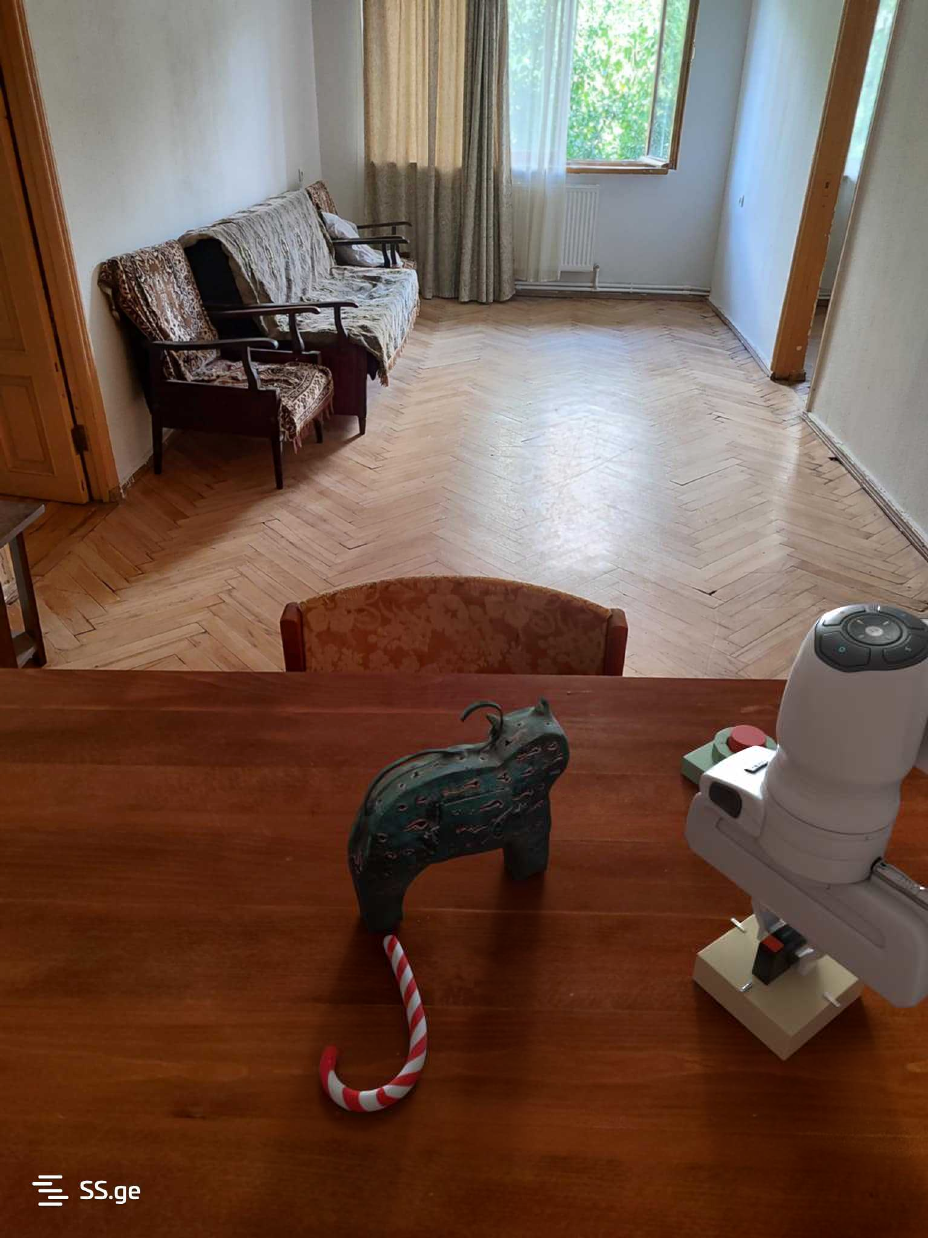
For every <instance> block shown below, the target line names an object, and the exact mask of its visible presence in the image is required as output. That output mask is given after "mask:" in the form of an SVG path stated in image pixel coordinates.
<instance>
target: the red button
mask: <svg viewBox="0 0 928 1238" xmlns="http://www.w3.org/2000/svg"><path fill="white" fill-rule="evenodd" d="M733 727H734V728H733ZM733 727H732V728H733V729H732V730H731V734H730V739H729V744H728V747H729V749H730V751H731V752H733V753H735V754H736V753H738V752H740V751H742V750H745V749H747V748H750V747H753V746H759V747H763V748H765V744H766V735H767V734H765V732H764V731H763V730H761V729H759V728H758V727H756V726H752V725H748V724H741V725H736V726H733Z"/></svg>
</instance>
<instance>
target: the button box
mask: <svg viewBox="0 0 928 1238" xmlns="http://www.w3.org/2000/svg"><path fill="white" fill-rule="evenodd" d="M734 727H735V726H733V727H726V728H725V729H722V730H720V731H719V732H717V733H716V734H715V737H714V740H712V741H710V742H708V743H706V744H705V745H703V746H701V747H698V748H697V749H695V750H694V751H692V752H689V753H688V754H686V755H684V756H683V757H682V761H681V767H680V774H681V775H683V776H685V777H686V778H687V779H688V780H690V781H692V782H693V783H694V784H696V785H697V786H699V784H700V778H701V776H702V774H703V773H705V772H706V771H707V770H709V769H710V768H711V767H713V766H714V765H716V764H717V763H719V762H721V761H722V760H724V759H726V758H728V757H730V756H732V755H734V754H735V753H733V752H731V751H730V749H729V747H728V744H729V739H730V734H731V730H732V729H733V728H734ZM765 735H766V744H765V748H767V749H770V750H774V751H776V750H777V743H776V742H775V740H774V739H773V738H772V737H770V736H769V735H767V734H765Z"/></svg>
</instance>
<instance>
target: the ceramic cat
mask: <svg viewBox="0 0 928 1238" xmlns="http://www.w3.org/2000/svg"><path fill="white" fill-rule="evenodd" d="M488 707H489V708H494V709H495V710H497V711H498V714H499V716H498V715H495V714H491V713H485V715H486V719H487V721H488V722H489V723H490V725H491V726H490V728H489V729H488V730H487V733H486V736H485V737H486V739H485V740H486V741H484V742H479V743H473V744H458V745H452V746H449V747H446V748H433V749H432V748H431V749H423V750H420V751H418V752H415V753H412V754H409V755H406V756H404V757H402V758H400V759H397V760H396V761H394V762H391V763H390V764H389V765H387V766H385V767H384V768H382V769H380V771H379V772H378V773H377V774H376V775H375V776H374V777H373V779H372V780H371V782H370V784H369V786H368V788H367V789H366V792H365V795H364V798H363V801H362V803H361V805H360V806H359V808H358V811H357V814H356V816H355V817H354V818H355V819H354V820H353V822H352V824H351V826H350V831H349V835H348V839H347V858H348V868H349V873H350V876H351V879H352V885H353V888H354V892H355V895H356V900H357V903H358V908H359V913H360V915H361V917H362V919H363V921H364V923H365V925H366V928H367V930H368V933H369V934H372V933H377V932H381V931H385V930H388V929H390V928H393V927H396V926H397V925H398V924H400V923H402V922H403V921H404V912H403V904H404V901H405V895H406V891H407V889H408V888H409V887H410V885H411V884H412V882H413V881H414V880H415V878H416V877H418V876H419V874H421V873H422V872H423V871H424V870H425V869H426V868H428V867H430V866H431V865H434V864H441V863H445V862H448V861H451V860H453V859H458V858H462V857H467V856H474V855H480V854H483V853H487V852H488V853H489V852H493V851H496V850H500V849H502V855H503V863H504V864H505V866H506V869H507V870H508V871H509V873H510V874H511V876H513V878H514V879H515V881H516V883H520V882H522V881H524V880H527V878H529V877H532V876H535V875H540V874H543V873H545V872H546V871H547V870H548V863H549V862H548V861H549V855H550V835H551V834H550V833H551V829H552V812H551V811H552V810H551V797H550V792H551V790H552V787H553V785H555V783H556V782H557V780H558V779H559V778H560V777H561V775H562V774H563V773H564V772H565V770H566V769H567V768H568V764H569V760H570V757H571V755H570V754H571V753H570V742H569V739H568V737H567V736H566V734H565V731H564V730H563V729H562V727H561V726H560V723H559V722H558V720H556V719H557V718H555V717H554V715H553V713H552V710H551V706H550V703H549V701H548V699H547V698H546V697H544V696H543V695H541V697H540V698H539V699H538V702H537V704H536V706H529V707H523V708H520V709H516V710H514V711H512V712H509V713H507V714H505V715H504V712H503V711H502V709H501V707H500V705H499V704H497V703H495V702H492V701H489V700H479V701H476V702H474V703H472V704H470V705H468V706H467V707H466V708H465V709H464V710H463V712H462V714H461V716H460V718H459V720H460V721H461V723H464V722H465V721H466V719H467V718H468V717H469V716H470V715H471V714H472V713H473V712H475V711H476V710H478V709H481V708H488ZM423 756H424V757H423ZM419 757H422V758H420V759H417V758H419ZM414 759H417V760H415V761H412V762H409V761H411V760H414ZM401 765H402V766H401ZM386 775H387V776H386ZM385 776H386V777H385Z"/></svg>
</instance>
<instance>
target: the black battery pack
mask: <svg viewBox="0 0 928 1238" xmlns="http://www.w3.org/2000/svg"><path fill="white" fill-rule="evenodd" d="M803 940H806V941H807V942H808V940H807V939H806V938H805V937H804V936H802V935H801V934H800V933H798V932H797V931H796V930H794V929H793V928H792V927H791V926H789V925H788V924H787V923H785V924H784V925H783V926H781V927H780V928H779V929H777V930H776V931H774V932H773V933H772V934H770V935H769V936H768V937H766V938H765V939H764V940H762V941H761V942H759V945H758V949H757V953H756V957H755V961H754V965H753V969H752V974H753V975H754V976H755V977H757V978H758V979H759V980H760V981H761V982H763V983H764V984H765V985H766V986H767V985H769V984H770V983H771V982H772V981H774V980H775V979H776V978H778V977H779V976H780V975H781V974H783V973H784V972H785V971H787V970H788V969H789V968H790V967H791V966H790V965H789V964H788V963H787V961H788V959H789V954H790V950H791V949H793V948H794V947H795V946H799V943H801V942H802V941H803Z"/></svg>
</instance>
